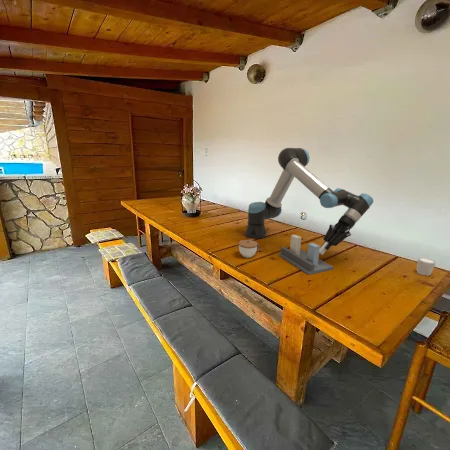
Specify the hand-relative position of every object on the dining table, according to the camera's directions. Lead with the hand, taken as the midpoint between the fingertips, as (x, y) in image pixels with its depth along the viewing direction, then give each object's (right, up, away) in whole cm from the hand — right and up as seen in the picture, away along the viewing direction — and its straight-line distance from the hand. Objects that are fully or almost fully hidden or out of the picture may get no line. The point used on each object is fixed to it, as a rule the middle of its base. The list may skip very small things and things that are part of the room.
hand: (320, 253), depth 126 cm
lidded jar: (-36, -3, +15) cm, 39 cm away
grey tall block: (-4, -6, 0) cm, 7 cm away
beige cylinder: (+51, -10, -3) cm, 52 cm away
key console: (-6, -6, +7) cm, 11 cm away
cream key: (-10, -2, +13) cm, 16 cm away
